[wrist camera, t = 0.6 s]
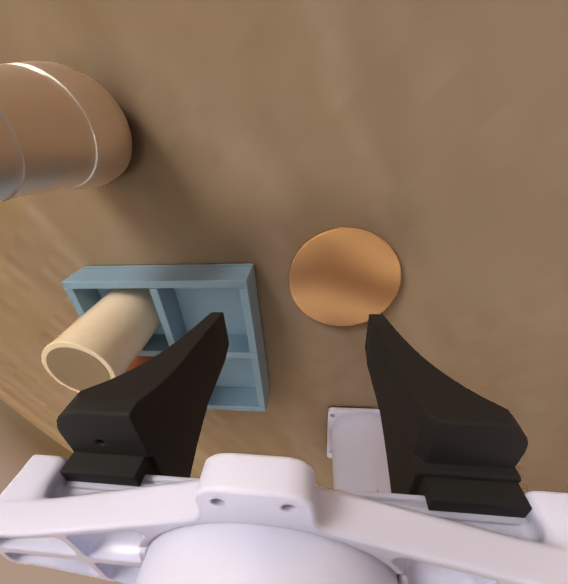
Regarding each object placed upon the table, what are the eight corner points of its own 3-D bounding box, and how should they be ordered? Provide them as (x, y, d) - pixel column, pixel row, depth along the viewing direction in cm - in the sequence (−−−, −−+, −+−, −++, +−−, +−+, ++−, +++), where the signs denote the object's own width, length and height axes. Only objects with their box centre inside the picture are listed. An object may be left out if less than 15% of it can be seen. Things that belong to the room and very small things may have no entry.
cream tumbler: (172, 328, 28) (126, 397, 21) (122, 328, 29) (61, 395, 22) (156, 281, 25) (98, 343, 19) (101, 282, 26) (25, 342, 19)
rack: (269, 388, 32) (266, 411, 30) (139, 384, 34) (125, 405, 31) (253, 263, 24) (246, 280, 22) (84, 265, 26) (60, 281, 23)
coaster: (392, 323, 26) (393, 326, 26) (291, 322, 27) (291, 325, 27) (408, 225, 21) (409, 227, 21) (285, 228, 22) (285, 231, 22)
